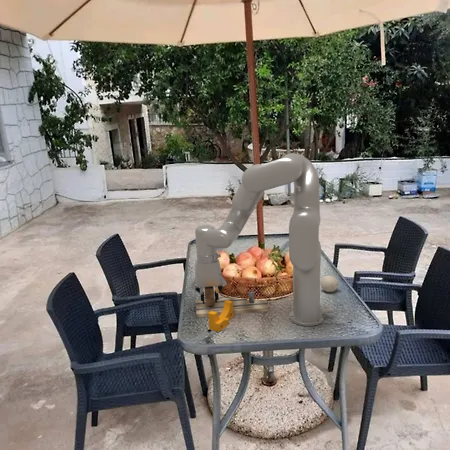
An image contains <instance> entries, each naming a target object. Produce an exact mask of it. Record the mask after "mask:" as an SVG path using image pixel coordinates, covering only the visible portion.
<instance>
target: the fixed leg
mask: <svg viewBox="0 0 450 450" xmlns="http://www.w3.org/2000/svg"><path fill="white" fill-rule="evenodd" d="M250 291H251V290H249V291H248V296H249V303H254V302H255V300H254V295H255V291H254V292H250Z"/></svg>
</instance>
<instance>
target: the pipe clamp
mask: <svg viewBox="0 0 450 450" xmlns="http://www.w3.org/2000/svg"><path fill="white" fill-rule="evenodd" d="M234 316H235V314H233V301H230V300H226V301H225V302H224V308H223V311H222V313H221V314H220V316H218V314H217V312H214V311H210V312H209V313H208V317H207V318H208V328H209V330H212V331H215V332H218V333H220V332H221V331H222V330H224V329H225V328H227V327H228V326H229V325H230V321H231V319H232V318H234Z"/></svg>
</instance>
